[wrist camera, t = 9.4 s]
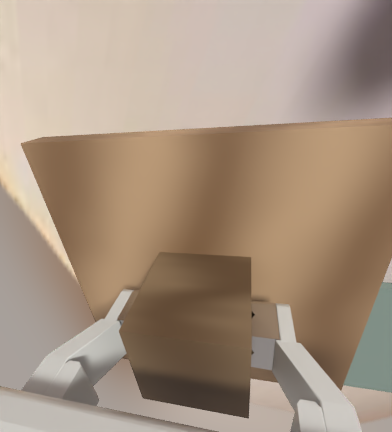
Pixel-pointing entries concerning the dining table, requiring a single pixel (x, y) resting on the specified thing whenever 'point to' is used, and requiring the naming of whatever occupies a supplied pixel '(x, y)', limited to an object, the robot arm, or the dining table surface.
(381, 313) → the mat
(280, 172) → the cover
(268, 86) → the dining table surface
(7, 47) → the dining table surface
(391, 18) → the dining table surface
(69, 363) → the robot arm
